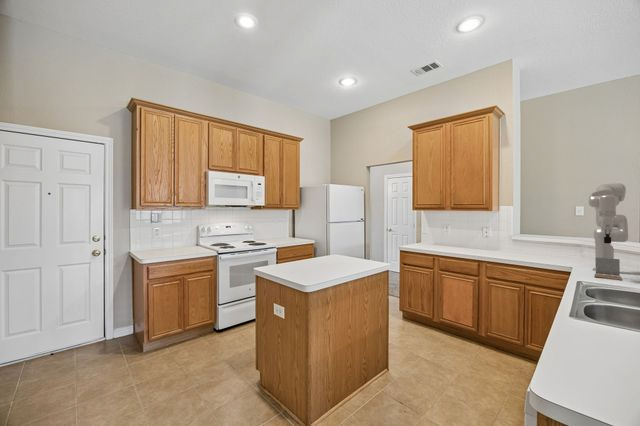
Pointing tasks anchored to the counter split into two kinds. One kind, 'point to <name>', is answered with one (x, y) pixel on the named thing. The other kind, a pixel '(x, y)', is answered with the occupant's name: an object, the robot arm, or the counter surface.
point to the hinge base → (608, 277)
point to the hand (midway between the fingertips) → (607, 243)
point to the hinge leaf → (608, 266)
